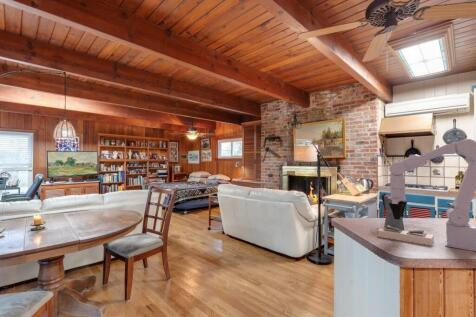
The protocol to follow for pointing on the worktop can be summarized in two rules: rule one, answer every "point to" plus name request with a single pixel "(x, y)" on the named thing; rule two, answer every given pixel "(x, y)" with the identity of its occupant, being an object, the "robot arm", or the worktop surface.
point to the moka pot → (391, 214)
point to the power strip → (406, 236)
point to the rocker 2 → (416, 231)
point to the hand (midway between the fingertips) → (398, 217)
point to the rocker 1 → (392, 228)
